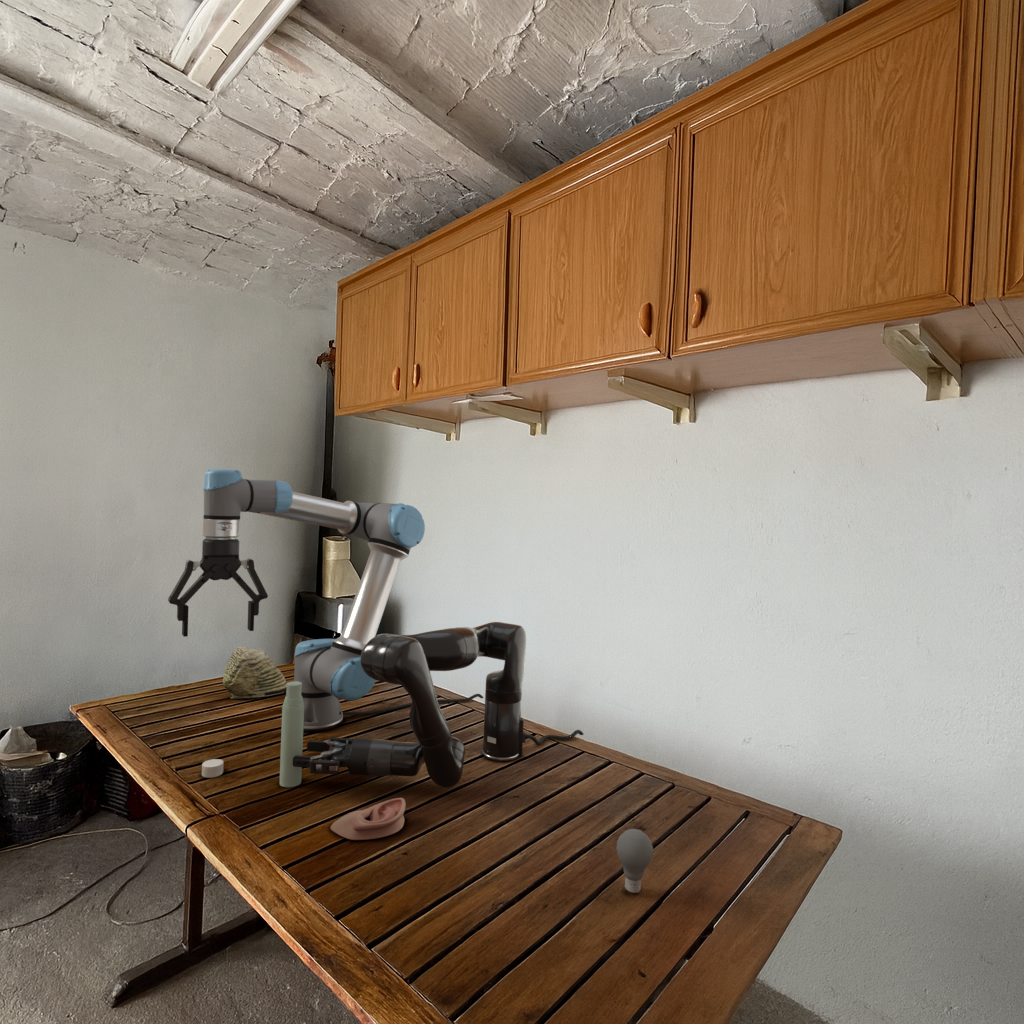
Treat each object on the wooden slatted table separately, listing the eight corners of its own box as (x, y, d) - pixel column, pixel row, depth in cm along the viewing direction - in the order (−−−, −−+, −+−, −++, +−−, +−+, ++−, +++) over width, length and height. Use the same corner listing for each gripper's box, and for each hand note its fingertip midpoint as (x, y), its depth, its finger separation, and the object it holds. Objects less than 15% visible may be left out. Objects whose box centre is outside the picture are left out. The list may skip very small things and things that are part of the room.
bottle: (305, 780, 141) (309, 681, 141) (293, 788, 137) (296, 687, 136) (288, 776, 142) (291, 679, 142) (274, 785, 138) (278, 684, 138)
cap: (197, 773, 142) (198, 763, 142) (216, 767, 146) (216, 757, 145) (208, 779, 139) (208, 768, 139) (227, 773, 143) (227, 762, 143)
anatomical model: (323, 814, 118) (350, 787, 130) (322, 835, 118) (350, 806, 130) (389, 824, 116) (412, 796, 127) (389, 846, 116) (411, 816, 127)
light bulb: (610, 879, 108) (613, 822, 108) (644, 879, 109) (647, 822, 109) (619, 902, 102) (622, 840, 102) (655, 901, 103) (658, 840, 103)
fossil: (218, 695, 195) (220, 647, 195) (278, 685, 208) (279, 640, 207) (228, 703, 189) (230, 653, 188) (289, 692, 201) (290, 645, 201)
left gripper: (159, 539, 131) (157, 641, 132) (283, 539, 146) (280, 630, 146) (155, 537, 137) (153, 634, 138) (274, 536, 152) (271, 624, 152)
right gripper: (381, 728, 146) (312, 725, 147) (365, 753, 132) (288, 748, 133) (380, 761, 146) (310, 757, 147) (364, 788, 132) (287, 784, 133)
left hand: (218, 632), depth 142 cm, fingers open, 13 cm apart
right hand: (300, 753), depth 140 cm, fingers open, 8 cm apart
